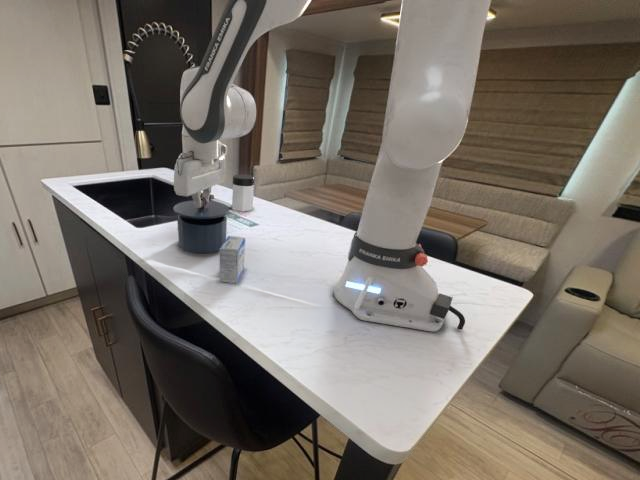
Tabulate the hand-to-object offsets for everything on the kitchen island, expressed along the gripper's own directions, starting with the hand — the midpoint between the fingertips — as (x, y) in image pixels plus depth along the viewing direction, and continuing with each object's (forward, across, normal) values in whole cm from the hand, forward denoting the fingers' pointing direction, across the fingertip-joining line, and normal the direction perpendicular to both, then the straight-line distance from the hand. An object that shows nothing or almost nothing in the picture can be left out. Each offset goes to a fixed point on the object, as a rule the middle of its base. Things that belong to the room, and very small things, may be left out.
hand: (201, 205), depth 83 cm
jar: (+12, +40, +5) cm, 42 cm away
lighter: (+12, +18, +9) cm, 23 cm away
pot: (+12, 0, 0) cm, 12 cm away
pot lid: (+1, 0, 0) cm, 1 cm away
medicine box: (+12, -12, -15) cm, 23 cm away
